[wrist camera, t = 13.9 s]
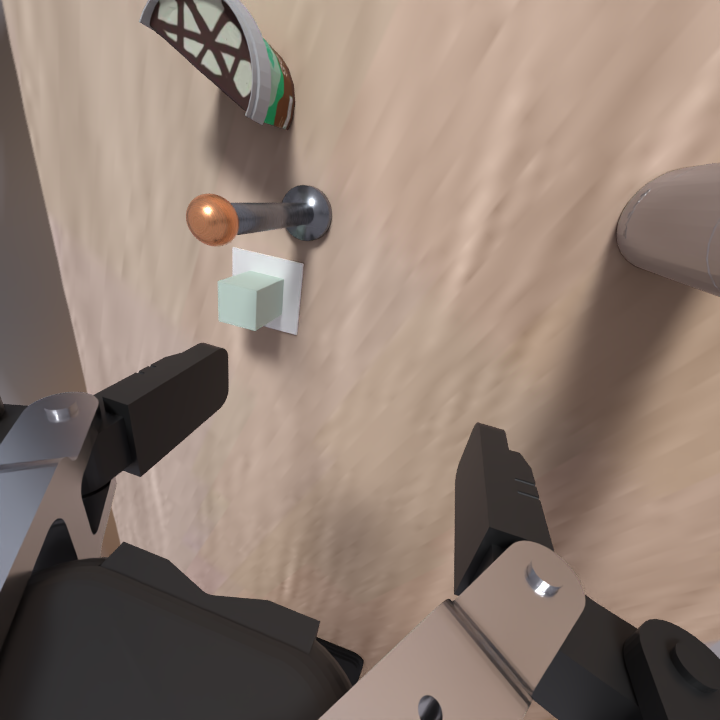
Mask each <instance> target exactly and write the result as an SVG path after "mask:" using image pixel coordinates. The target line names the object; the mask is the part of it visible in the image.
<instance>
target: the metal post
mask: <svg viewBox="0 0 720 720" xmlns="http://www.w3.org/2000/svg"><path fill="white" fill-rule="evenodd" d="M331 220H332V209H331V205H330V202H329V200H328V198H327V197H326V196H325V194H324V193H323V192H322V191H320V190H319V189H317V188H315V187H312V186H306V185H300V186H296V187H294V188H292V189H291V190H290V191H289V192H288V193H287V194H286V195H285V197H284V199H283V202H282V203H230V202H229V201H227V200H226V199H224V198H223V197H221V196H218V195H215V194H202V195H199V196H197V197H196V198H194V199H193V200H192V201H191V202H190V204H189V206H188V208H187V211H186V221H187V225H188V227H189V229H190V231H191V233H192V234H193V235H194V236H195V237H196V238H197V239H198V240H199V241H201V242H202V243H204V244H207V245H210V246H223V245H226V244H228V243H230V242H231V241H232V240H233V239H234V238H235V237H236V235H241V234H248V233H254V232H261V231H268V230H275V229H281V228H286V229H287V230H288V231H289V233H290V234H291V235H293V236H294V237H296V238H297V239H300V240H304V241H310V240H314V239H318V238H320V237H321V236H323V235H324V234H325V233H326V232H327V230H328V229H329V227H330V224H331Z"/></svg>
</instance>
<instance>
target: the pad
mask: <svg viewBox="0 0 720 720" xmlns="http://www.w3.org/2000/svg"><path fill="white" fill-rule="evenodd" d="M303 267H304V263H300V262H296V261H291V260H287V259H283V258H279V257H274V256H270V255H266V254H262V253H257V252H253V251H249V250H245V249H240V248H236V247H233V276H235V275H238V274H241V273H244V272H247V271H254V272H258V273H262V274H266V275H270V276H274V277H278V278H282V279H284V289H283V304H282V315H280V316H278V317H277V318H275V319H274V320H272V321H271V322H269V323H267V324H266V325H264V326H265V327H269V328H272V329H276V330H280V331H283V332H287V333H291V334H294V335H297V333H298V322H299V311H300V300H301V289H302V278H303Z"/></svg>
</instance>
